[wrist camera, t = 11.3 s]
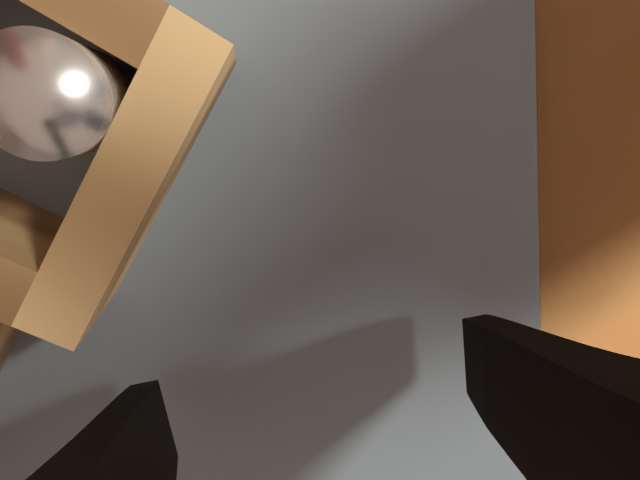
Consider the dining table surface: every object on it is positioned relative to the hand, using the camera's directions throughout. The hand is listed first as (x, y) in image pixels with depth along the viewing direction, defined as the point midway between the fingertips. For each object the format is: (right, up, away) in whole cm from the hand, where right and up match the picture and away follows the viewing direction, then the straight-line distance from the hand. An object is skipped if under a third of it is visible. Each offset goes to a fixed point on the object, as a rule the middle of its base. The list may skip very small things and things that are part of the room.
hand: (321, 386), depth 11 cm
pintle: (-5, +7, 0) cm, 8 cm away
